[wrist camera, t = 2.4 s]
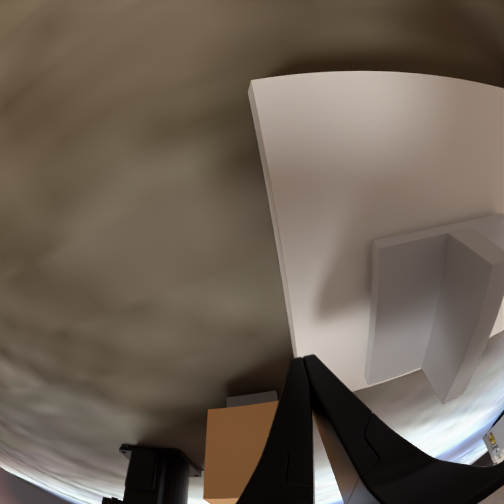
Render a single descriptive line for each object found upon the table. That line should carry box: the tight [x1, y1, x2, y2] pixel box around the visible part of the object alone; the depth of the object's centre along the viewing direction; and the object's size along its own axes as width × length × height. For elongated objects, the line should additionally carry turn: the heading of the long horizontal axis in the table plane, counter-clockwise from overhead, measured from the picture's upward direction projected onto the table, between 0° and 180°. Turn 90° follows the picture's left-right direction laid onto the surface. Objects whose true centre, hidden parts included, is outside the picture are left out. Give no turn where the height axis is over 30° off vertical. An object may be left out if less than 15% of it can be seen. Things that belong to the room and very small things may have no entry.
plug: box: [203, 390, 279, 504], centre depth 14 cm, size 5×5×8 cm
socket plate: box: [248, 71, 504, 392], centre depth 11 cm, size 14×18×3 cm
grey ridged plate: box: [364, 213, 504, 404], centre depth 9 cm, size 7×7×3 cm
